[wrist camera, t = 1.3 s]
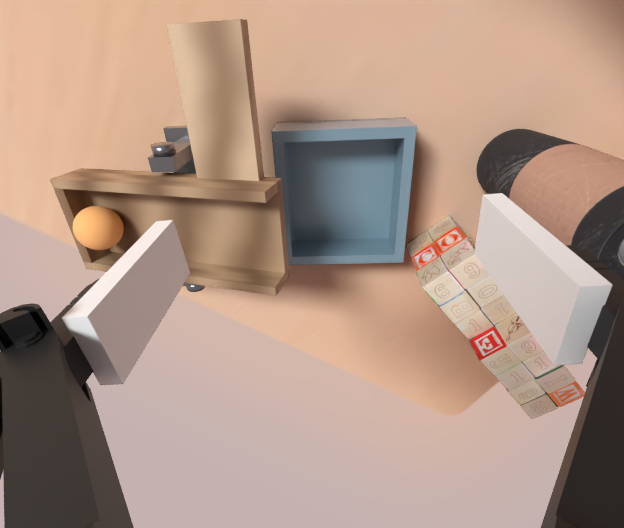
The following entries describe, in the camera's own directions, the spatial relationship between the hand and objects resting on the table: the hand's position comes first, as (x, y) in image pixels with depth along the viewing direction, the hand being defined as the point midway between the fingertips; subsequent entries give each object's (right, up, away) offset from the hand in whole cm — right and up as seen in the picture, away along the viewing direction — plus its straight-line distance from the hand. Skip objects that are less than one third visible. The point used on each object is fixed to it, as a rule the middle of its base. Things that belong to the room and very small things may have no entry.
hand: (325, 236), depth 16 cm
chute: (-12, +9, +18) cm, 23 cm away
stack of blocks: (+20, -4, +31) cm, 37 cm away
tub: (+3, +7, +25) cm, 26 cm away
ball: (-20, +2, +17) cm, 26 cm away
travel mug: (+21, +10, +23) cm, 32 cm away
